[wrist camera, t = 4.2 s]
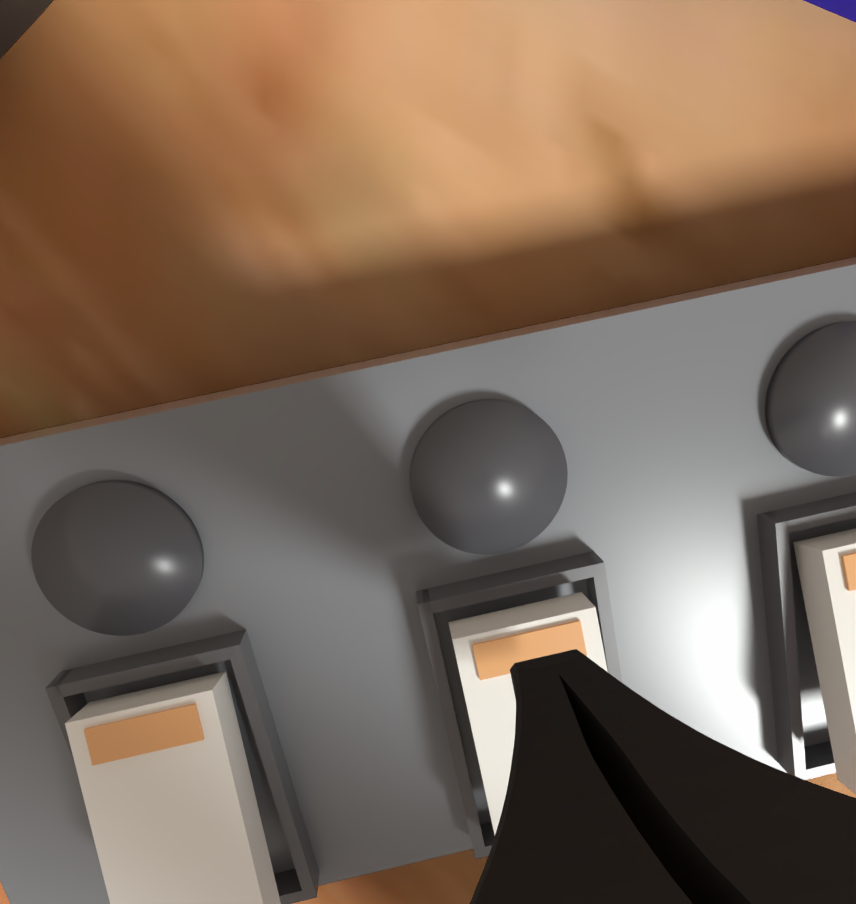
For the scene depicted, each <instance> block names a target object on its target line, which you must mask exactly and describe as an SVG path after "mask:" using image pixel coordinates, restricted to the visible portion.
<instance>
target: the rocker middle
mask: <svg viewBox="0 0 856 904" xmlns="http://www.w3.org/2000/svg"><path fill="white" fill-rule="evenodd" d="M448 623H449V628H450V633H451V637H452V642H453V646H454V651H455V656H456V660H457V665H458V669H459V674H460V679H461V683H462V688H463V692H464V697H465V702H466V706H467V711H468V715H469V720H470V725H471V729H472V734H473V738H474V743H475V748H476V752H477V757H478V762H479V766H480V771H481V775H482V780H483V785H484V789H485V794H486V798H487V803H488V808H489V812H490V817H491V821H492V826H493V831H494V835H495V834H496V831H497V827H498V824H499V820H500V817H501V813H502V809H503V805H504V800H505V796H506V792H507V787H508V781H509V776H510V770H511V763H512V755H513V748H514V740H515V722H516V699H515V694H514V689H513V684H512V678H511V673H510V669H511V667H512V666H513V665H514V663H517V662H521V661H526V660H530V659H535V658H539V657H543V656H548V655H552V654H556V653H561V652H565V651H569V650H574V649H577V650H579V651H580V652H581V653H583V654H584V655H586V656H587V657H588V658H590V659H591V660H592V661H594V662H595V663H596V664H597V665H599V666H600V667H601V668H603V669H604V670H605V671H607V672H608V670H607V665H606V660H605V654H604V649H603V644H602V639H601V633H600V628H599V623H598V617H597V612H596V607H595V606H594V605H593V604H592V603H591V602H590V601H589V600H588V598H587V597H586V596H585V595H584V594H583V593H582V592H579V593H575V594H570V595H566V596H561V597H557V598H553V599H548V600H544V601H539V602H535V603H531V604H526V605H522V606H517V607H513V608H508V609H504V610H500V611H495V612H491V613H486V614H482V615H478V616H473V617H469V618H464V619H460V620H456V621H451V622H448Z"/></svg>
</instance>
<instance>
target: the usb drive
mask: <svg viewBox="0 0 856 904" xmlns="http://www.w3.org/2000/svg"><path fill="white" fill-rule="evenodd" d="M52 2H53V0H0V58H1V57H2V56H3V55H4V54H5V53H6V52H7V51H8V50H9V49H10V48H11V47H12V46H13V44H14V43H15V42H16V41H17V40H18V39H19V38H20V37H21V36H22V35H23V34H24V33H25V31H26V30H27V29H28V28H29V27H30V26H31V25H32V24H33V23H34V22H35V21H36V20H37V18H38V17H39V16H40V15H41V14H42V13H43V12H44V11H45V10H46V8H47V7H48V6H49V5H50V4H51V3H52Z"/></svg>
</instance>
